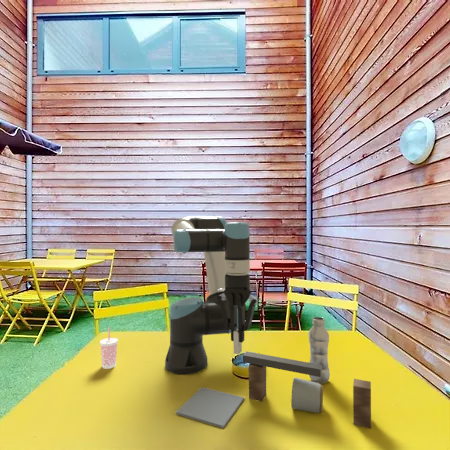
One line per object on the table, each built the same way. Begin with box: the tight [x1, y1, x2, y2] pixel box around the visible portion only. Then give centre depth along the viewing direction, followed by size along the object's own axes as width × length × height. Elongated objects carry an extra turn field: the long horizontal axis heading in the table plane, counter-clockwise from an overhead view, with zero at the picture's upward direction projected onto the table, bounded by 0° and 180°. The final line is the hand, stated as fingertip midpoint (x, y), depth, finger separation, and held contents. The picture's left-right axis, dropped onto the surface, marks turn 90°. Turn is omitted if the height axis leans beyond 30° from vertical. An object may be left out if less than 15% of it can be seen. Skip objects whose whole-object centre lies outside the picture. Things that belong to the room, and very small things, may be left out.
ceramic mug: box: [290, 377, 324, 414], centre depth 86 cm, size 11×8×8 cm
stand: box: [248, 363, 372, 429], centre depth 85 cm, size 32×4×10 cm, turn 65°
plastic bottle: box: [307, 316, 331, 384], centre depth 100 cm, size 6×7×20 cm
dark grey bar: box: [242, 351, 322, 377], centre depth 88 cm, size 22×3×2 cm, turn 65°
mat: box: [175, 386, 245, 429], centre depth 86 cm, size 14×14×1 cm
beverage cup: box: [99, 326, 119, 370], centre depth 111 cm, size 6×6×14 cm
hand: (237, 352), depth 93 cm, fingers closed
